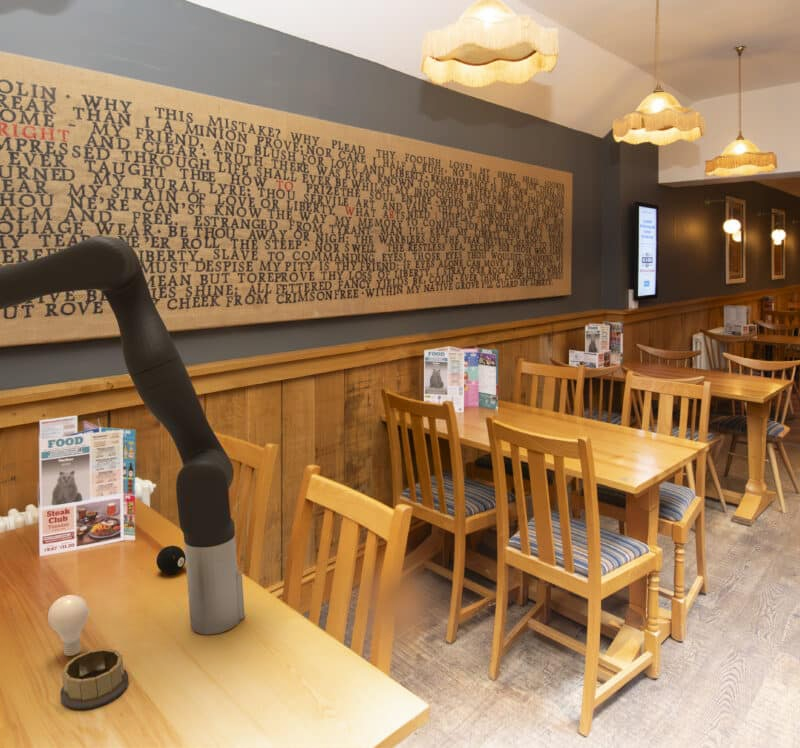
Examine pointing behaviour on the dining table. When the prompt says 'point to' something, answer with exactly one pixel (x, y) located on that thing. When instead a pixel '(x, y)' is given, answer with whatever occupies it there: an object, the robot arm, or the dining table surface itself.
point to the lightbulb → (69, 621)
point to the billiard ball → (171, 559)
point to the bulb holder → (93, 679)
